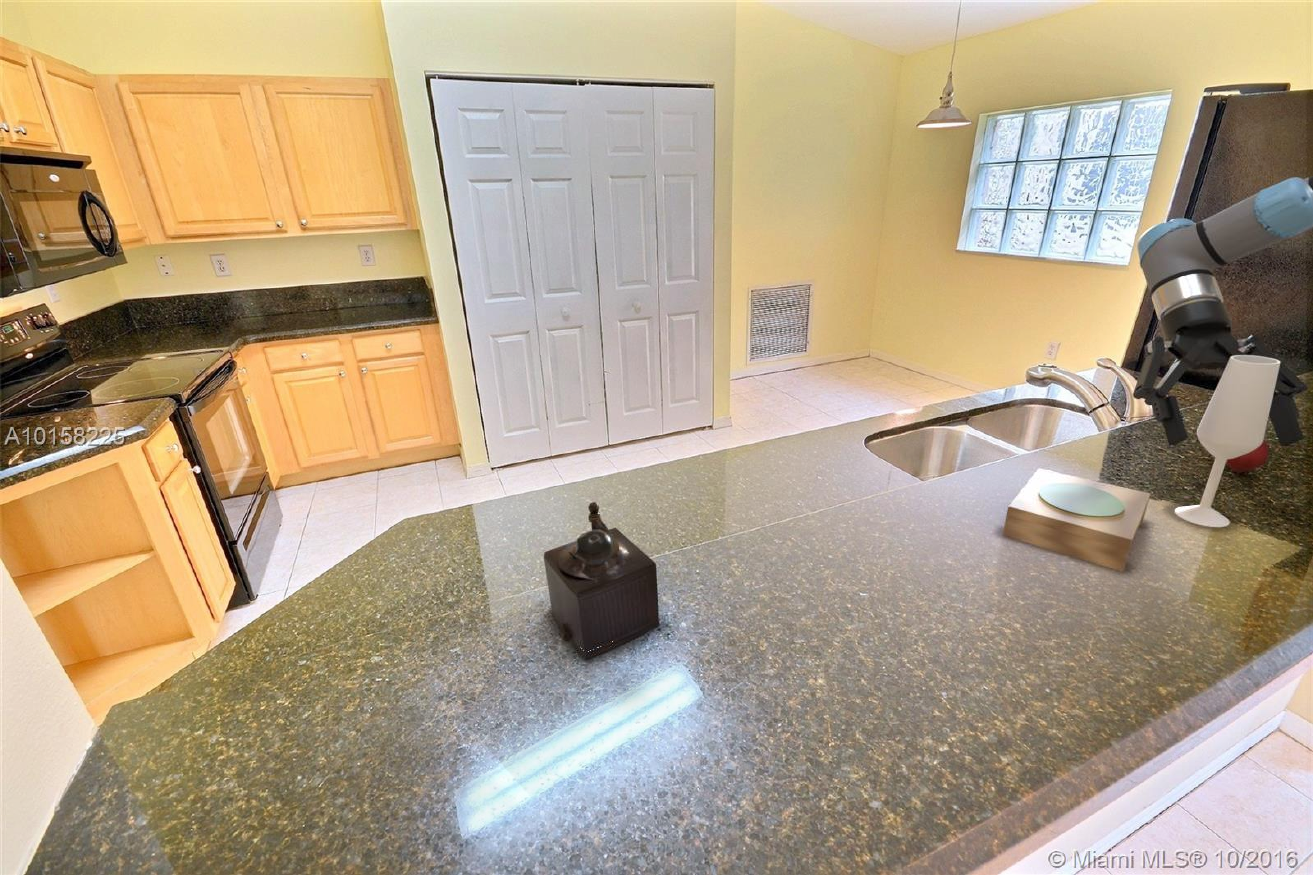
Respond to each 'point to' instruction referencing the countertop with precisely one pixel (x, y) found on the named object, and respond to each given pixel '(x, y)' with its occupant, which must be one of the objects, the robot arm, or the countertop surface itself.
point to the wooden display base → (1077, 517)
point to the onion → (1250, 459)
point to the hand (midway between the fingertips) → (1234, 442)
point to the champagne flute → (1233, 424)
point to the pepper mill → (601, 589)
